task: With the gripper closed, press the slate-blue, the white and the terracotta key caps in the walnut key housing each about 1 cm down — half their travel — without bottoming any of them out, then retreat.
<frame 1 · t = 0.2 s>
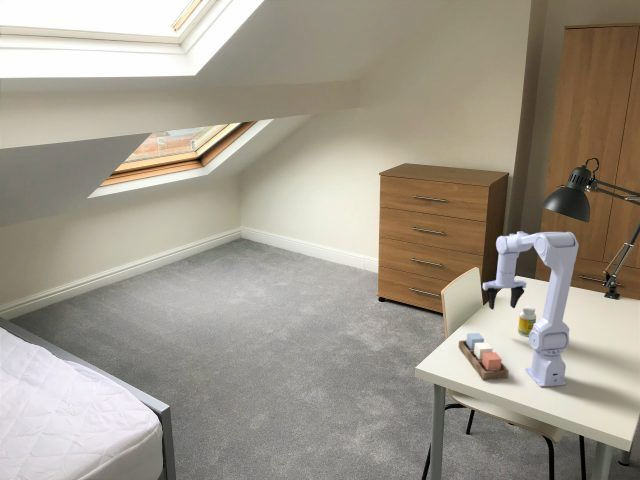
hand: (502, 307, 181), 10 cm above the table, fingers open, 7 cm apart
key terracotta: (491, 361, 159), point 4 cm above the table, slide at 0.0 cm
key blue: (475, 341, 171), point 4 cm above the table, slide at 0.0 cm
key housing: (481, 362, 167), on the table
supplement bottle: (525, 333, 184), on the table
key white: (483, 350, 165), point 4 cm above the table, slide at 0.0 cm
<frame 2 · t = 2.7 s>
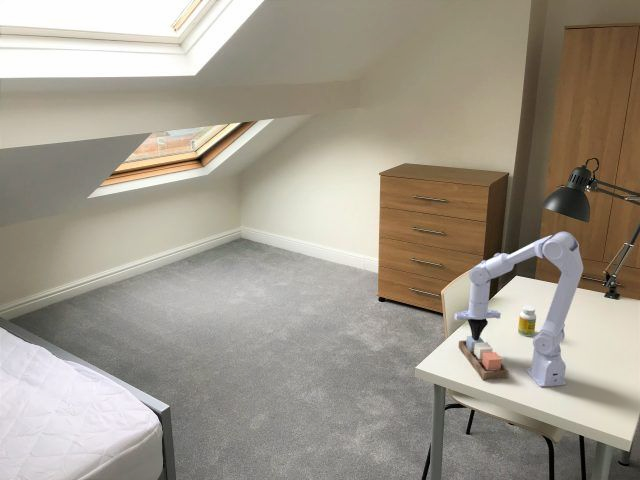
hand: (475, 338, 171), 5 cm above the table, fingers closed, pressing on key blue
key blue: (474, 343, 171), point 3 cm above the table, slide at 0.9 cm, touching gripper
everything else where it was.
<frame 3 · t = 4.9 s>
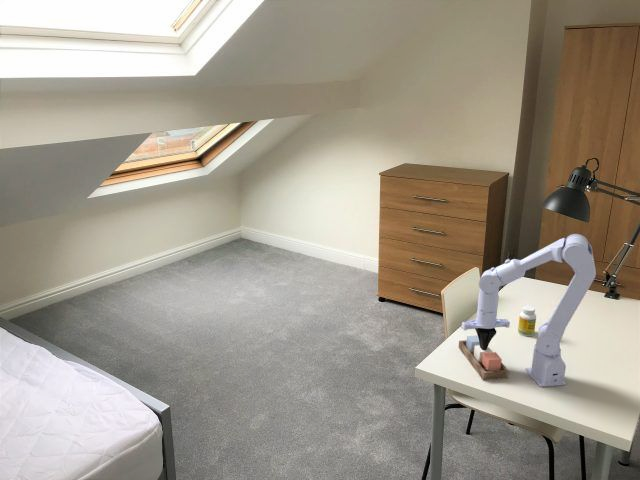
hand: (483, 348, 165), 5 cm above the table, fingers closed, pressing on key white
key blue: (474, 343, 171), point 3 cm above the table, slide at 0.9 cm
key white: (482, 353, 166), point 3 cm above the table, slide at 0.9 cm, touching gripper
everything else where it was.
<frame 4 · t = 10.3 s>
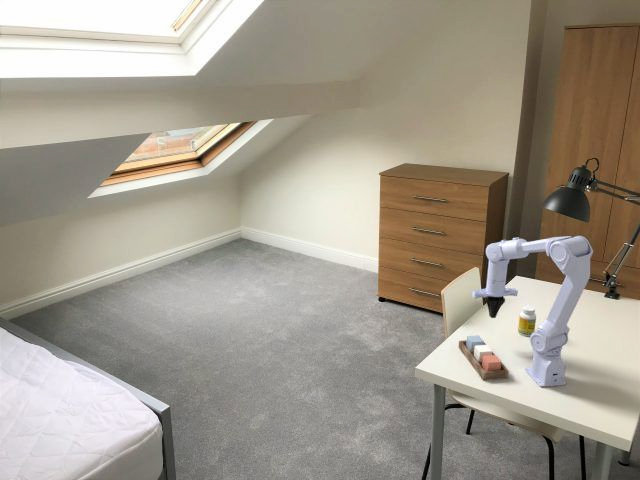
hand: (492, 316, 174), 10 cm above the table, fingers closed
key terracotta: (491, 363, 160), point 3 cm above the table, slide at 0.9 cm
key white: (482, 353, 166), point 3 cm above the table, slide at 0.9 cm
everything else where it was.
at the end: key blue slide at 0.9 cm; key white slide at 0.9 cm; key terracotta slide at 0.9 cm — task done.
